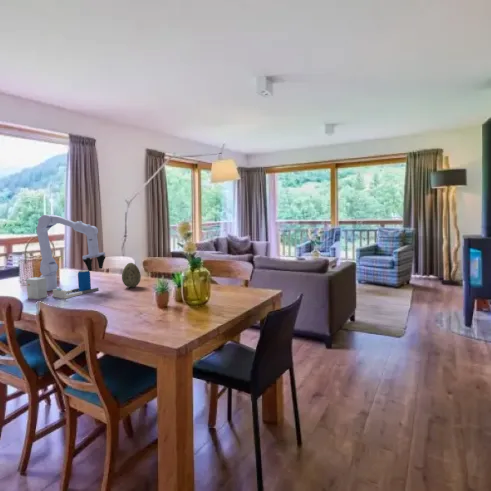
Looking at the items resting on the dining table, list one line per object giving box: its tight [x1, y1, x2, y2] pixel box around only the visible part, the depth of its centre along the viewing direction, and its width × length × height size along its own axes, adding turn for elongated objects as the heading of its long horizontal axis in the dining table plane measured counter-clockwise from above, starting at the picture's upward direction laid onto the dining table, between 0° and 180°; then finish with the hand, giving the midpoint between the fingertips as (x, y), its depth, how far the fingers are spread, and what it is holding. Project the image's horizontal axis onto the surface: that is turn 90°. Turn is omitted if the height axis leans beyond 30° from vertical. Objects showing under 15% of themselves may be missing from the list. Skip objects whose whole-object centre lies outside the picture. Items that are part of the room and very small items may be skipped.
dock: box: [52, 287, 99, 300], centre depth 206 cm, size 10×22×5 cm, turn 152°
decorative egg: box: [121, 262, 142, 289], centre depth 220 cm, size 11×11×15 cm
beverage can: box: [77, 269, 92, 292], centre depth 211 cm, size 6×6×12 cm
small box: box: [25, 276, 48, 300], centre depth 197 cm, size 8×6×10 cm
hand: (95, 269), depth 216 cm, fingers open, 7 cm apart
